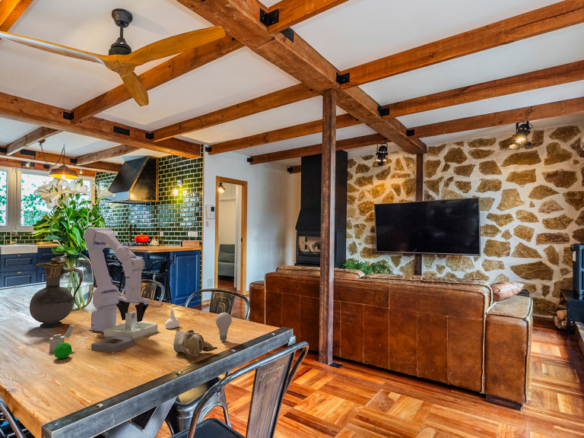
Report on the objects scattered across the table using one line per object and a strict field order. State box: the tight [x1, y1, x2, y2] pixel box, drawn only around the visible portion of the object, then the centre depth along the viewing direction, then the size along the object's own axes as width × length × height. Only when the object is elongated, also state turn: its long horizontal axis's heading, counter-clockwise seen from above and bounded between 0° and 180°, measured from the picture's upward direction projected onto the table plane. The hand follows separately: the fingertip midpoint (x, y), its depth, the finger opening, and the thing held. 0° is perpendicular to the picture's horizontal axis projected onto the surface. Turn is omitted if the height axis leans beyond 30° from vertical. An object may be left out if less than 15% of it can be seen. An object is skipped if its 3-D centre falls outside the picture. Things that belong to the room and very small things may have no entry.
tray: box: [103, 321, 159, 341], centre depth 137 cm, size 14×14×3 cm
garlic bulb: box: [164, 308, 181, 330], centre depth 148 cm, size 6×6×8 cm
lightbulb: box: [215, 311, 233, 342], centre depth 130 cm, size 6×6×11 cm
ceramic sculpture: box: [172, 329, 218, 359], centre depth 116 cm, size 11×9×15 cm
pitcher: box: [28, 256, 84, 329], centre depth 148 cm, size 11×19×30 cm, turn 131°
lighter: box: [48, 324, 76, 353], centre depth 119 cm, size 7×2×8 cm, turn 129°
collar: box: [90, 336, 136, 354], centre depth 122 cm, size 10×10×2 cm
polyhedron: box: [53, 342, 73, 360], centre depth 111 cm, size 5×5×5 cm
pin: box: [124, 310, 138, 332], centre depth 137 cm, size 3×3×8 cm
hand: (132, 320), depth 137 cm, fingers open, 7 cm apart
